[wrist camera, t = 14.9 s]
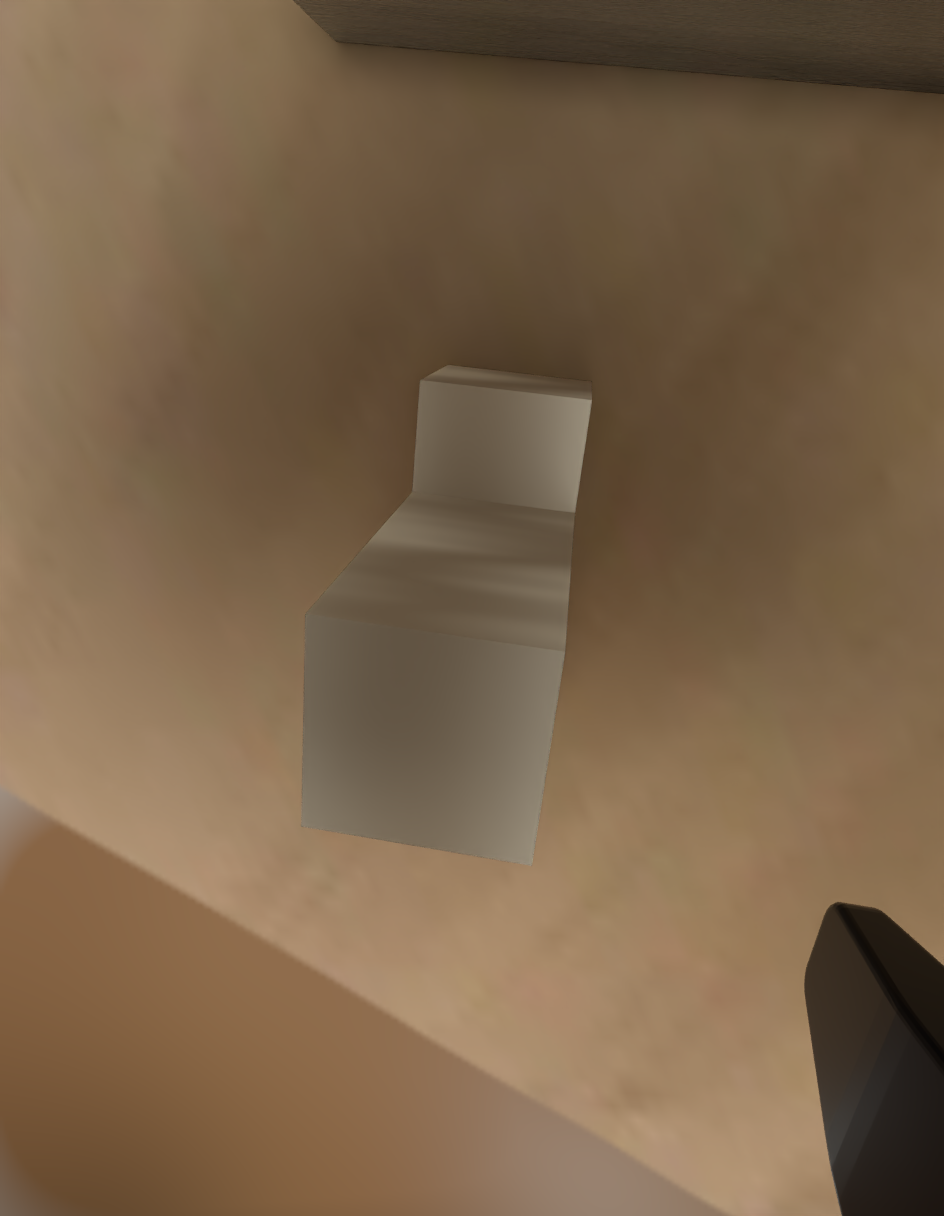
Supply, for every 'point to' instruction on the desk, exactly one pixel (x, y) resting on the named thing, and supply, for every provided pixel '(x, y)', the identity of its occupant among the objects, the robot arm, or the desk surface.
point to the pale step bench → (452, 627)
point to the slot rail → (671, 35)
